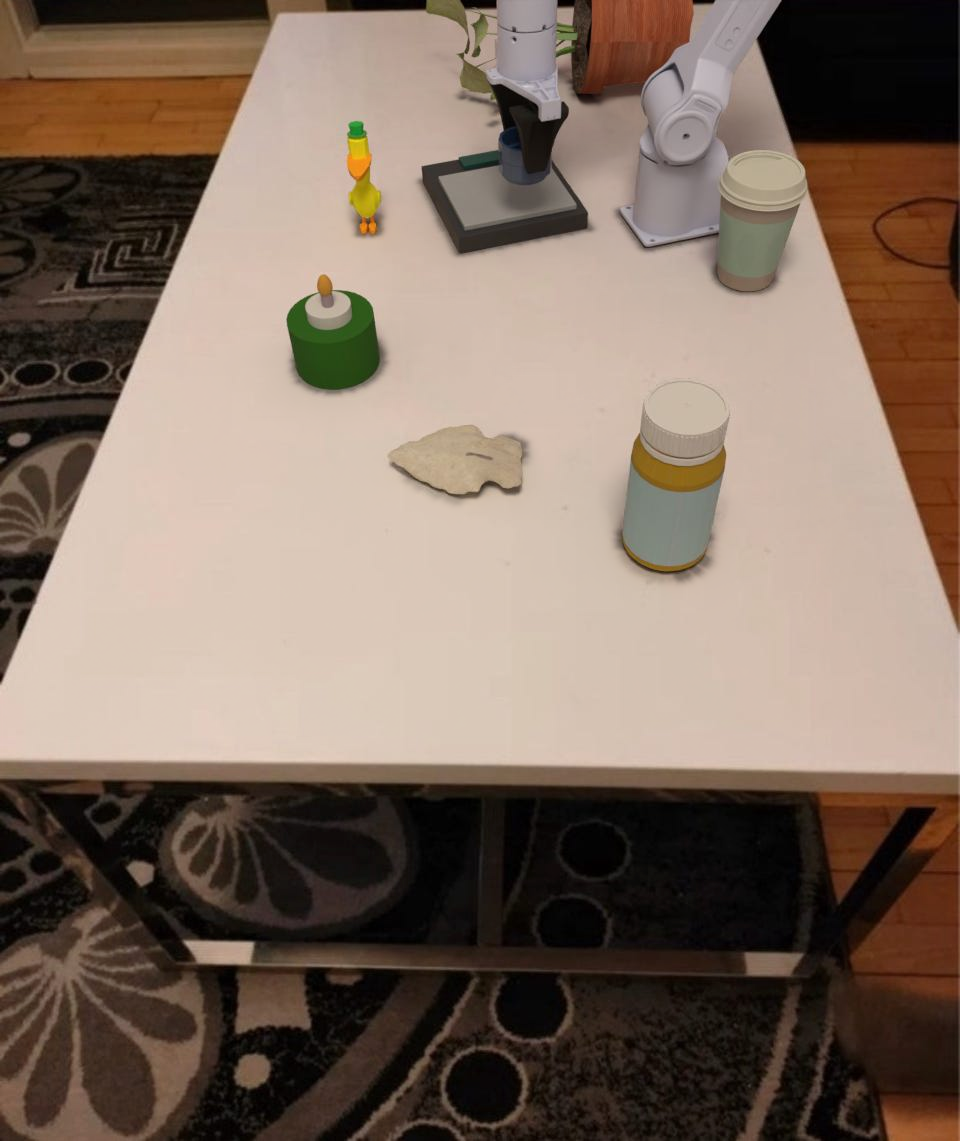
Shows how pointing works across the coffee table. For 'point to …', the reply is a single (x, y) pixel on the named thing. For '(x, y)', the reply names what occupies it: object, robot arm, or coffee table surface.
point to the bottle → (675, 474)
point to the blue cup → (516, 160)
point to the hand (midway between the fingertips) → (526, 156)
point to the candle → (333, 337)
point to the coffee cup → (757, 216)
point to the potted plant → (595, 40)
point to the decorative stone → (461, 459)
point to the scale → (499, 203)
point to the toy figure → (362, 177)
